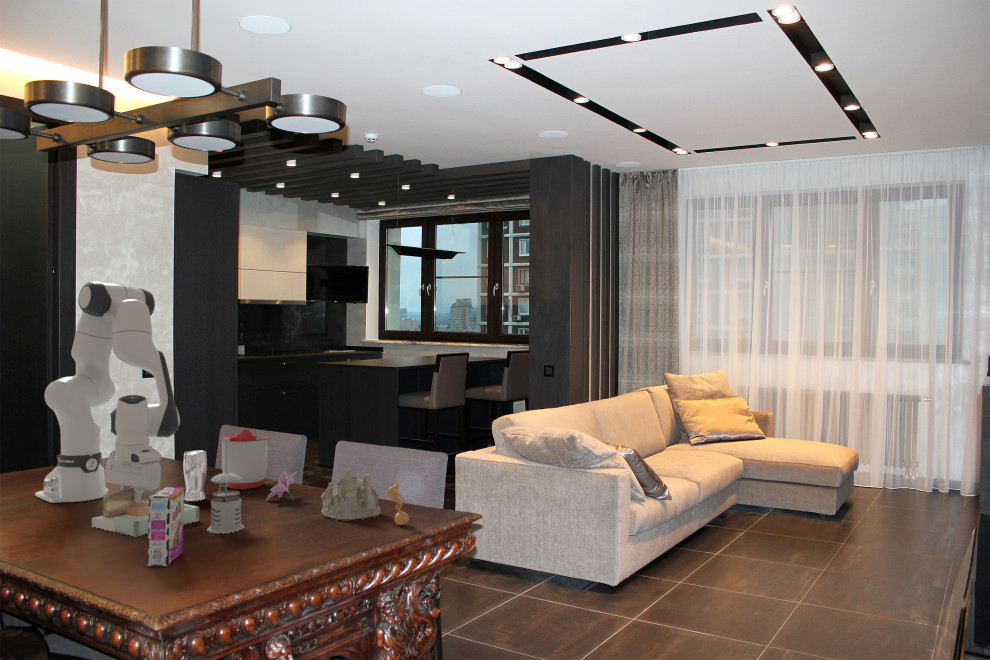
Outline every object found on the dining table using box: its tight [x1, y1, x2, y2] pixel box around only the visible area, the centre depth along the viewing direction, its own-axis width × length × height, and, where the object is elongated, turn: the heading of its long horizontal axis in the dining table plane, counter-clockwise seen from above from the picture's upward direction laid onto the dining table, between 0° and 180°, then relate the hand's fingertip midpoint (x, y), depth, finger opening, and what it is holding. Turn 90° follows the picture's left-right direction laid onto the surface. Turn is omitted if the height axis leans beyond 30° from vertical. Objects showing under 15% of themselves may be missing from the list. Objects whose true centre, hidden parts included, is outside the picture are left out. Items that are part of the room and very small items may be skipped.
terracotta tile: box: [127, 504, 149, 517], centre depth 217 cm, size 5×5×2 cm
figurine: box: [387, 483, 410, 526], centre depth 217 cm, size 8×6×12 cm
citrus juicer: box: [220, 428, 270, 491], centre depth 266 cm, size 16×17×20 cm
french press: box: [206, 438, 245, 534], centre depth 213 cm, size 10×12×25 cm
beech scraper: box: [102, 485, 161, 517], centre depth 219 cm, size 2×16×6 cm, turn 150°
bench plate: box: [91, 513, 149, 533], centre depth 218 cm, size 10×20×2 cm, turn 150°
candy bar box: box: [147, 486, 185, 568], centre depth 184 cm, size 11×5×16 cm, turn 5°
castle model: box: [320, 468, 382, 519], centre depth 230 cm, size 16×16×15 cm
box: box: [113, 503, 200, 538], centre depth 213 cm, size 9×20×4 cm, turn 150°
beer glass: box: [182, 450, 208, 502], centre depth 246 cm, size 7×7×15 cm
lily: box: [265, 471, 298, 502], centre depth 246 cm, size 12×12×10 cm
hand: (132, 501), depth 219 cm, fingers closed on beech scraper, 2 cm apart
